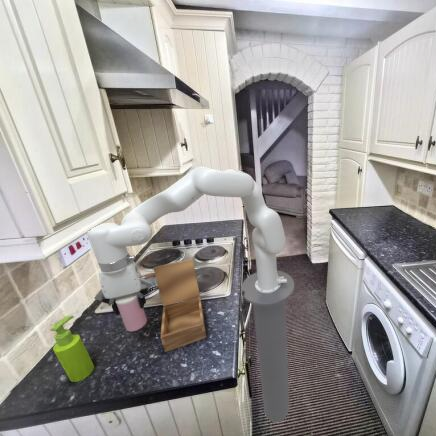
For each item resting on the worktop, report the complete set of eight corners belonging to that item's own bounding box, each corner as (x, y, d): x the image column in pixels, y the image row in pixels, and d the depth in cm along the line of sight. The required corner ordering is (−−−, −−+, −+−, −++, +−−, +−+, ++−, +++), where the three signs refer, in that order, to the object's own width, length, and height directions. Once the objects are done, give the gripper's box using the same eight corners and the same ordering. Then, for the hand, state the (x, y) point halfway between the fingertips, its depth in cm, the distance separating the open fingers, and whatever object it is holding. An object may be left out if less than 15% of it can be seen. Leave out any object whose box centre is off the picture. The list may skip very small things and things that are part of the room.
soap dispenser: (101, 360, 76) (79, 314, 69) (83, 382, 70) (57, 333, 62) (84, 360, 76) (61, 314, 69) (64, 381, 70) (36, 333, 62)
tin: (162, 284, 113) (158, 269, 110) (163, 287, 111) (159, 272, 108) (126, 296, 105) (120, 281, 102) (126, 300, 103) (120, 285, 100)
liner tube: (150, 316, 82) (142, 289, 78) (141, 330, 76) (131, 302, 72) (132, 317, 82) (122, 290, 77) (121, 332, 76) (110, 303, 72)
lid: (192, 259, 90) (192, 254, 95) (153, 267, 85) (155, 262, 90) (200, 296, 94) (199, 289, 99) (162, 306, 89) (164, 299, 94)
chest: (206, 337, 84) (203, 323, 81) (164, 352, 78) (160, 337, 76) (202, 309, 97) (200, 296, 94) (167, 320, 92) (163, 307, 89)
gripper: (148, 251, 76) (161, 294, 83) (84, 263, 70) (102, 309, 76) (146, 261, 70) (159, 307, 77) (74, 276, 64) (95, 325, 70)
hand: (131, 308), depth 76 cm, fingers closed on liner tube, 6 cm apart
